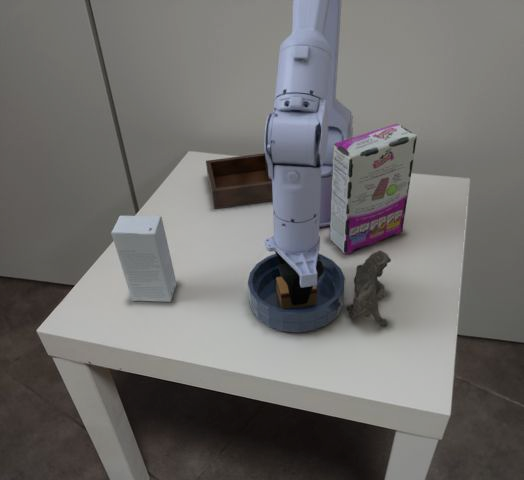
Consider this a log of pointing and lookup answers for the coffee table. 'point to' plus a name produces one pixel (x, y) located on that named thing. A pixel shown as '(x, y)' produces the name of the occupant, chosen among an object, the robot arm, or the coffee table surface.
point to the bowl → (299, 317)
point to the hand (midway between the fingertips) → (296, 292)
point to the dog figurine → (369, 287)
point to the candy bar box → (370, 187)
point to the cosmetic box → (145, 257)
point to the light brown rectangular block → (285, 297)
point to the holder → (239, 180)
